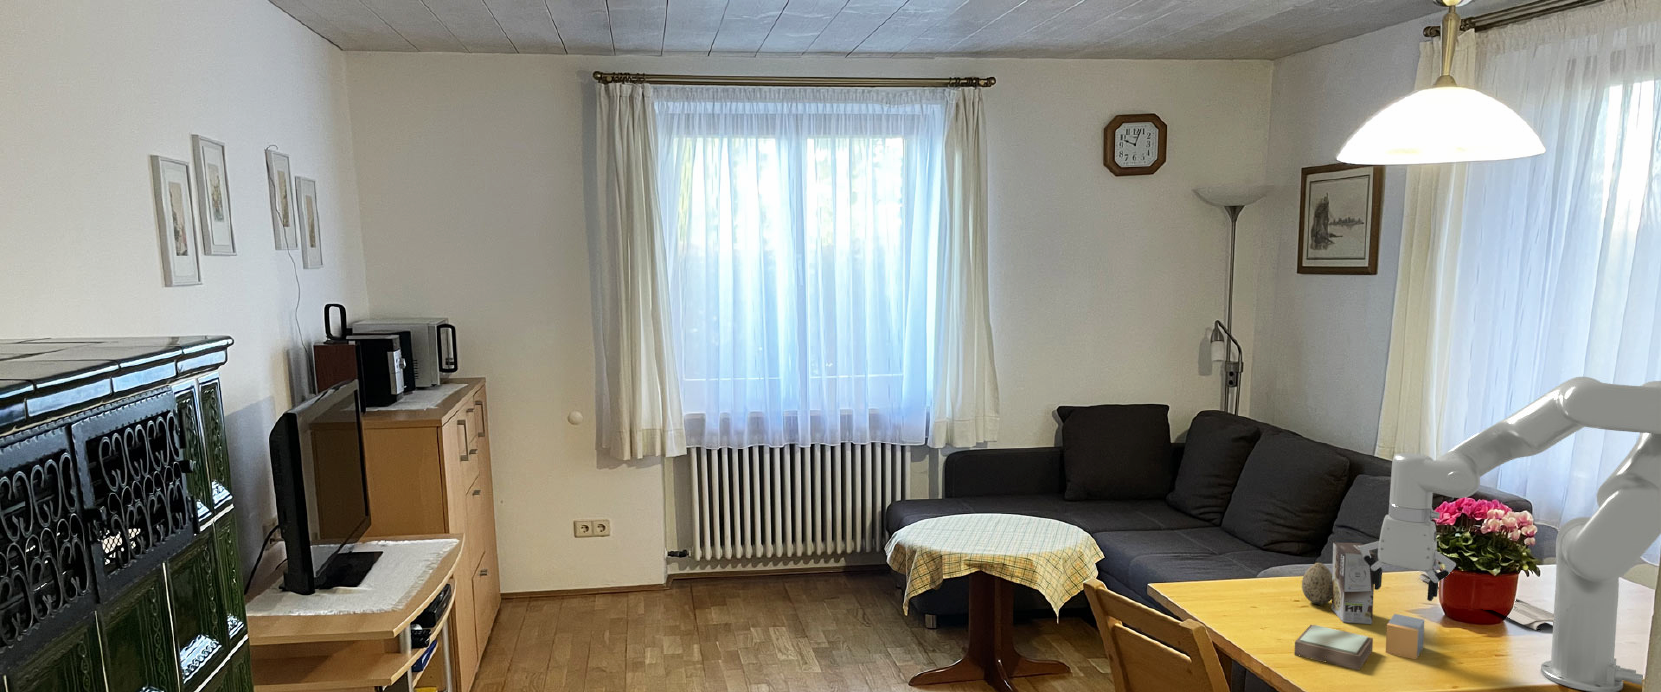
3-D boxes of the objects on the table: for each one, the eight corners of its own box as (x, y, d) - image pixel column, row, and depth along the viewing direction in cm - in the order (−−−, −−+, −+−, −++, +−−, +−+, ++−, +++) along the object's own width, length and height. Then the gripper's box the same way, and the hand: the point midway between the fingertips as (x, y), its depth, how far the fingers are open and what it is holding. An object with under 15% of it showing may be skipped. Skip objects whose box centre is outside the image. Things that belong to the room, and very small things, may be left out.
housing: (1423, 647, 204) (1424, 619, 203) (1416, 659, 198) (1417, 631, 197) (1393, 640, 207) (1394, 613, 207) (1385, 652, 201) (1386, 624, 201)
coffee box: (1373, 624, 216) (1376, 554, 215) (1342, 622, 218) (1345, 552, 216) (1360, 610, 225) (1362, 542, 224) (1330, 608, 227) (1332, 541, 225)
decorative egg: (1339, 603, 230) (1340, 562, 229) (1329, 611, 225) (1330, 569, 224) (1307, 596, 235) (1308, 556, 234) (1296, 604, 230) (1298, 563, 229)
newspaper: (1576, 630, 213) (1577, 614, 213) (1526, 634, 211) (1527, 618, 211) (1451, 578, 248) (1451, 565, 248) (1407, 581, 246) (1408, 568, 246)
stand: (1372, 651, 202) (1373, 636, 202) (1359, 670, 193) (1359, 654, 193) (1310, 637, 210) (1310, 622, 209) (1294, 654, 201) (1295, 639, 200)
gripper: (1461, 517, 197) (1455, 598, 199) (1366, 502, 208) (1361, 579, 210) (1456, 525, 192) (1449, 608, 193) (1358, 509, 203) (1353, 588, 204)
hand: (1403, 593), depth 202 cm, fingers open, 9 cm apart
